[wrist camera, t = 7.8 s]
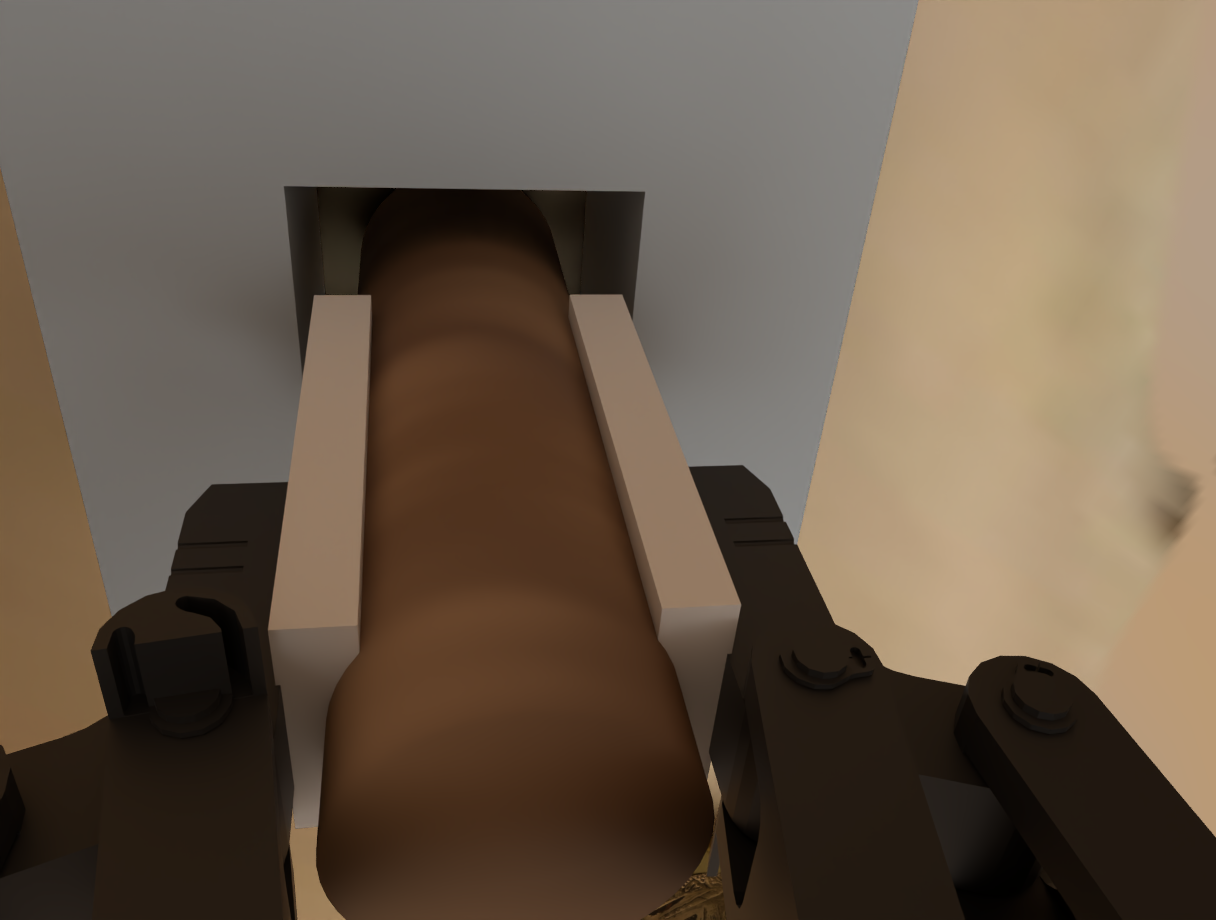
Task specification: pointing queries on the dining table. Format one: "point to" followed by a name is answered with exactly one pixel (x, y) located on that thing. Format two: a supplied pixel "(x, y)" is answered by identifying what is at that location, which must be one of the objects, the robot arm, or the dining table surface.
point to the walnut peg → (496, 607)
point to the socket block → (428, 158)
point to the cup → (695, 897)
